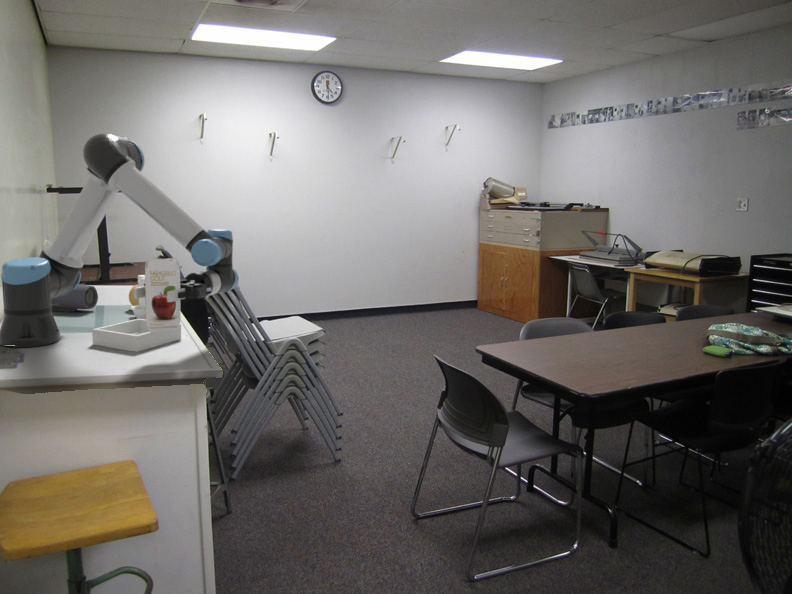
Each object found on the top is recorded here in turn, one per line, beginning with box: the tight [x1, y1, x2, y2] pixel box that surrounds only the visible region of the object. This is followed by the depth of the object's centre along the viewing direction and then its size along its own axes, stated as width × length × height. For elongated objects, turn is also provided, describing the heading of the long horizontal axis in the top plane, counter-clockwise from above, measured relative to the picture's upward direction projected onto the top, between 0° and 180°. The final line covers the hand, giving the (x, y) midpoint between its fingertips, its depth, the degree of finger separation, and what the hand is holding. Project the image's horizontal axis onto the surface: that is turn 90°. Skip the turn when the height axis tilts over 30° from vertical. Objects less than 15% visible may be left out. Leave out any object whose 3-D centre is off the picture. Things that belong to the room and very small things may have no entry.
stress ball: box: [128, 283, 139, 306], centre depth 223 cm, size 10×10×10 cm
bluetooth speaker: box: [51, 283, 99, 312], centre depth 215 cm, size 23×9×10 cm, turn 84°
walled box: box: [91, 318, 182, 353], centre depth 177 cm, size 18×16×4 cm
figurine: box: [130, 274, 146, 319], centre depth 209 cm, size 7×9×15 cm
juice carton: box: [144, 257, 181, 333], centre depth 158 cm, size 8×9×19 cm
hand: (151, 295), depth 154 cm, fingers closed on juice carton, 9 cm apart
